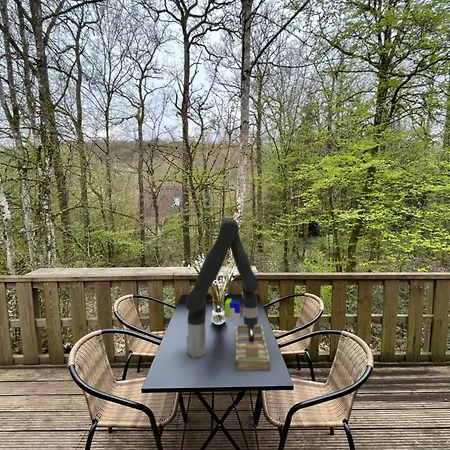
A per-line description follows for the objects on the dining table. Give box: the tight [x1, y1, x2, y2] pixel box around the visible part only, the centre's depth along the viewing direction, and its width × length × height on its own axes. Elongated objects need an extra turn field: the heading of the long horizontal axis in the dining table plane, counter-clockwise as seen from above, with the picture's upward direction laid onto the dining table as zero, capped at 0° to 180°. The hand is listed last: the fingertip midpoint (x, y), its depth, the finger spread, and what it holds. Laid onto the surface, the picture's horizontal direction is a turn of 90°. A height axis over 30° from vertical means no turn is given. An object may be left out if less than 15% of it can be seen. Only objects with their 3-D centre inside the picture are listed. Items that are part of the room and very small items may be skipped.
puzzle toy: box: [224, 298, 243, 319], centre depth 207 cm, size 10×10×10 cm
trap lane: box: [235, 324, 271, 371], centre depth 159 cm, size 40×16×4 cm, turn 178°
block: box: [245, 341, 259, 357], centre depth 150 cm, size 6×6×5 cm
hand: (251, 346), depth 156 cm, fingers closed
